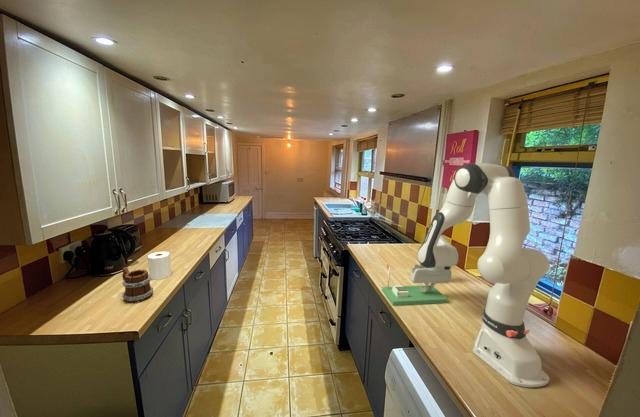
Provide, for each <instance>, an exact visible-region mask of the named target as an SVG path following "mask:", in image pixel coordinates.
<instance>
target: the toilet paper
mask: <svg viewBox="0 0 640 417" xmlns="http://www.w3.org/2000/svg"><path fill="white" fill-rule="evenodd" d="M147 264H148V275H149V276H150V278H151V280H163V279H165V278H168V277H170V276H171V275H172V267H171V266H172V264H171V254H170V252H169V251H156V252H152V253H150V254H148V255H147Z"/></svg>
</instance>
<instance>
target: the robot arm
mask: <svg viewBox="0 0 640 417" xmlns="http://www.w3.org/2000/svg"><path fill="white" fill-rule="evenodd" d="M448 188H449V189H448V191H447V195H446V196H445V201H444V204H443V206H442V208H441V209H440V210H439V211H438V212H437V213H435V215H434V216H433V218H432V219H431V222H430V224H429V227H428V229H427V232H426V234H425V237H424V239H423V241H422V244H421V245H420V247H419V248H418V249H417V254H416V257H417V258H416V259H417V262H418V263H419V264H415V265H413V266H412V267H411V268H412V269H411V273H410V281H411V282H412V283H414V284H424V285H426V288H427V290H433V287H434V288H435V286H436V284H437V283H449V282H451V280H452V274H453V273H452V269H453V268H452V267H454V266H457V265H458V263H459V262H460V258H461V255H460V250H458V248H457V247H455V246H454V245H452V244H451V243H450V242H449V241H448V239H447V237H446V235H445V234H443V232H445V230H447V229H449V228H451V227H453V226H456V225H459V224H462V223H464V222H466V221H467V220H468V219H469V218H471V216H472V213H473V211H474V207H475V204H476V200H477V197H478V195H479V194H481V193H482V194H484V195H485V196H486V198H487V201H488V214H489V238H488V242H487V244H486V248H485V250H484V252H483V253H482V255H481V256H480V257H479V258H478V260H477V264H476V265H477V266H476V267H477V271H478V273H479V275H480V277H481V278H482V279H484V281H487V282H488V283H492V284H494V285H493V286H491V288H490V289H489V291H488V294H487V299H486V303H485V308H484V309H483V313H482V320H481V321H482V323H481V326H480V328H479V332H478V333H477V337H476V338H475V339H474V340H473V344H474V345H473V348H472V353H473V354H474V355H476V356H477V357H478V358H479V359H480V360H482V361H483V362H484V363H486V364H487V365H488V366H489V367H491V368H492V369H493V370H494V371H496V372H497V373H498V374H499V375H501V376H502V377H503V378H504V379H506V381H508V382H510V384H512V385H515V386H517V387H523V388H539V387H544V386H546V385H548V384H549V383H550V376H549V375H548V374H547V373H546V372H545V371H544V370H543V369H542V366H543V364H542V359H541V357H540V355H539V354H538V352H537V349H536V348H535V347H534V346H533V345H532V343H531V342H530V340H529V338H528V337H527V334H530V332H531V331H530V330H529V329H528V330H526V326H525V322H524V320H525V319H524V318H525V313H526V309H527V305H528V302H529V300H530V298H531V296H532V294H533V292H534V290H535V289H536V287H537V285H538V283H539V282H540V281H541V279H543V277H544V276H545V275H546V274H547V273H548V272H549V270H550V265H551V264H550V261H549V258H548V257H547V255H546V254H545V253H544V252H542V251H541V250H538V249H534V248H528V247H523V245H524V242H525V240H526V237H527V236H528V235H529V234H530V233H531V224H530V214H529V213H530V212H529V203H528V202H529V201H528V198H527V194H526V190H525V188H524V185H523V182H522V181H521V179H519V178H517V177H516V174H515V171H514V170H513V169H512V168H511V167H509V166H508V165H505V164H502V163H501V164H500V163H498V164H495V163H488V162H478V163H477V162H476V163H473V162H472V163H466V164H463V165H461V166H459V167H457V169H456V171H455V172H454V178H453V180H452V181H451V184H450V186H449V187H448ZM428 285H430V286H428Z"/></svg>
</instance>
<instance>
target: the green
mask: <svg viewBox="0 0 640 417" xmlns="http://www.w3.org/2000/svg"><path fill="white" fill-rule="evenodd" d="M386 268H387V270H388V277H387V286H381V292H382V293H383V295H384V296H385V297H386V299H387V300H388V301H389V302H390V304H391V305H392V306H411V305H412V306H413V305H414V306H415V305H429V304H447V303H448V301H449V300H448V298H447V296H445V295H444V294H442V293H441V292H440V290H438V289H437V288H436V287H435V286H434V287H433V290H427V292H425V293H422V292H421V291H420V287H421V286H425V287H426V285H425V284H423V285H409V286H408V285H406V286H405V285H392V286H390V275H391V266H390V265H389V264H388V263H387V264H386ZM430 285H431V284H429V285H428V286H430Z"/></svg>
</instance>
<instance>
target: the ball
mask: <svg viewBox="0 0 640 417" xmlns="http://www.w3.org/2000/svg"><path fill="white" fill-rule="evenodd" d="M420 286H421V287H420V291H421V292H422V293H425V292H427V288H426V287H425V286H423V285H420Z"/></svg>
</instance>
